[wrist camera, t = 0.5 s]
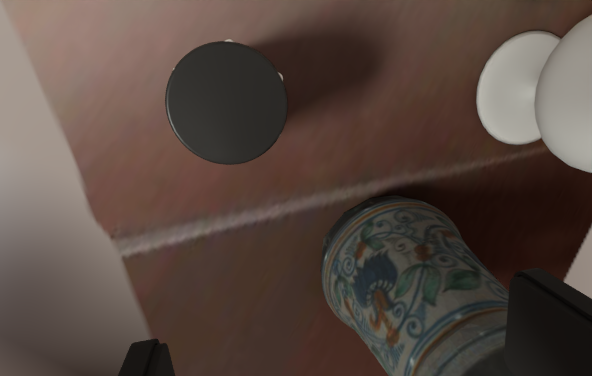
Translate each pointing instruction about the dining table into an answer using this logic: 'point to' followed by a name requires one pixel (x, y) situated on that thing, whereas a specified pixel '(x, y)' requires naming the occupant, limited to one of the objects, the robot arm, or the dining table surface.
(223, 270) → the dining table surface
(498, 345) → the beer stein
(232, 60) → the jar
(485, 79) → the chalice
